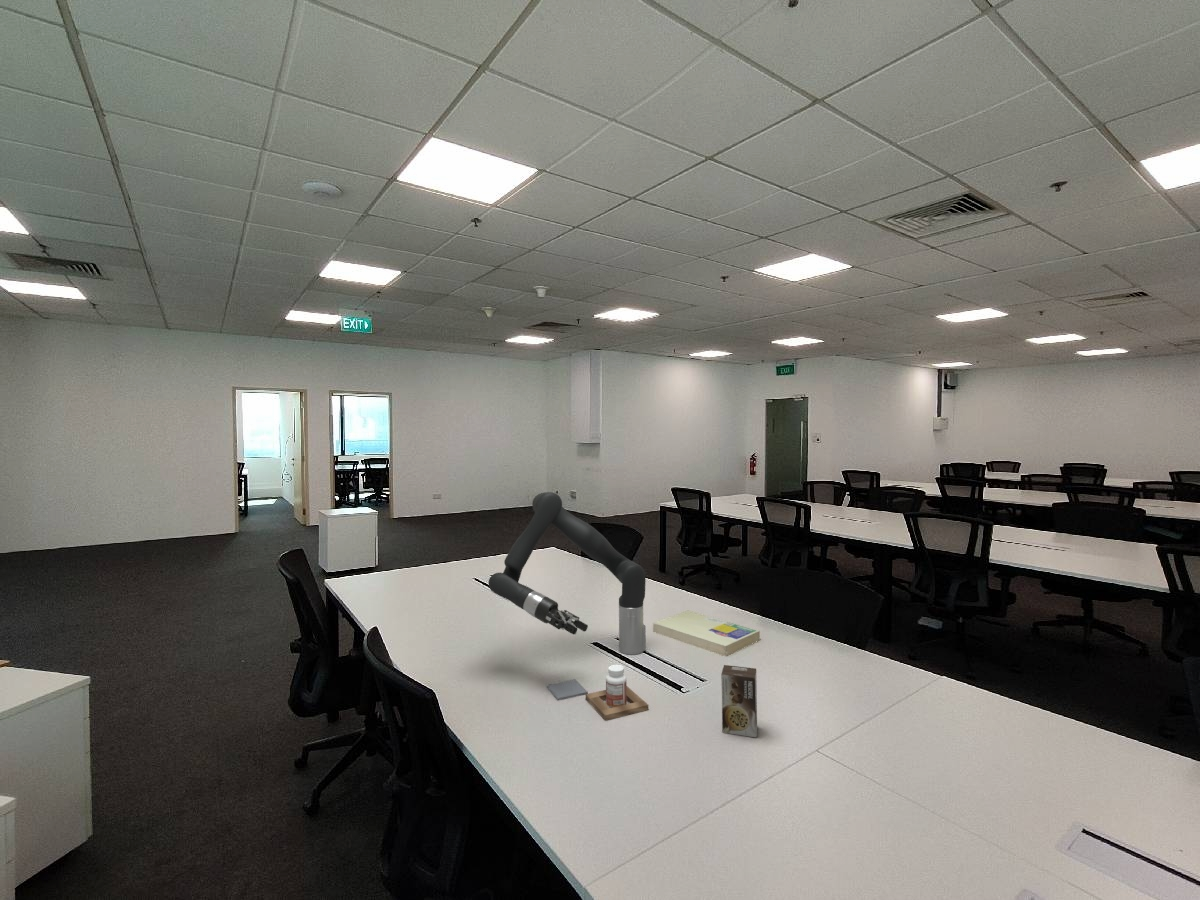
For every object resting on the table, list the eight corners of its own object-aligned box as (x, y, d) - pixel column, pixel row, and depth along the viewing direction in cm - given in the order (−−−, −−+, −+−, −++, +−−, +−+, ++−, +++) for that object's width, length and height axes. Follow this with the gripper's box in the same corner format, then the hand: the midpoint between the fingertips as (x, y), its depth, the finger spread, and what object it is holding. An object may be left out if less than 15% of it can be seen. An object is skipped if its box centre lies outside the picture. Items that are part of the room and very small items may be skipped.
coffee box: (757, 726, 147) (757, 668, 146) (756, 738, 140) (756, 677, 140) (723, 720, 150) (723, 663, 149) (721, 732, 143) (721, 673, 143)
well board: (626, 690, 169) (626, 685, 169) (648, 709, 156) (648, 704, 156) (585, 699, 163) (585, 694, 163) (605, 720, 150) (605, 715, 150)
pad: (575, 680, 175) (575, 679, 175) (587, 693, 166) (587, 691, 166) (546, 686, 171) (546, 685, 171) (557, 700, 162) (557, 698, 162)
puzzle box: (688, 620, 237) (651, 632, 221) (688, 610, 237) (652, 621, 221) (760, 642, 210) (725, 658, 194) (761, 631, 210) (725, 646, 194)
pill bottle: (615, 697, 164) (615, 661, 164) (630, 704, 159) (630, 667, 159) (601, 704, 159) (601, 667, 159) (617, 711, 155) (617, 673, 155)
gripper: (535, 597, 169) (577, 621, 163) (554, 595, 182) (594, 617, 176) (525, 619, 169) (567, 644, 162) (545, 615, 182) (585, 638, 175)
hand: (581, 630), depth 169 cm, fingers open, 8 cm apart
